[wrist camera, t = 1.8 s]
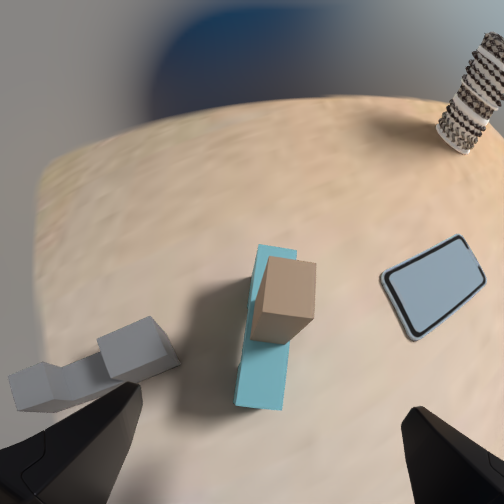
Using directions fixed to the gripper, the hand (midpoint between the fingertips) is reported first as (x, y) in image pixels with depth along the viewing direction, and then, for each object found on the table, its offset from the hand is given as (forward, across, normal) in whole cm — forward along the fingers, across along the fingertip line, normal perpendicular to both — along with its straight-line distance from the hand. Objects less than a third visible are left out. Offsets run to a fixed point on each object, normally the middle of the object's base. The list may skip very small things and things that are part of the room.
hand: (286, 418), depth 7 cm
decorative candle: (+39, -33, -22) cm, 56 cm away
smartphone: (+18, -18, 0) cm, 25 cm away
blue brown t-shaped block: (+12, 0, +5) cm, 13 cm away
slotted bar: (+8, +11, +9) cm, 16 cm away
